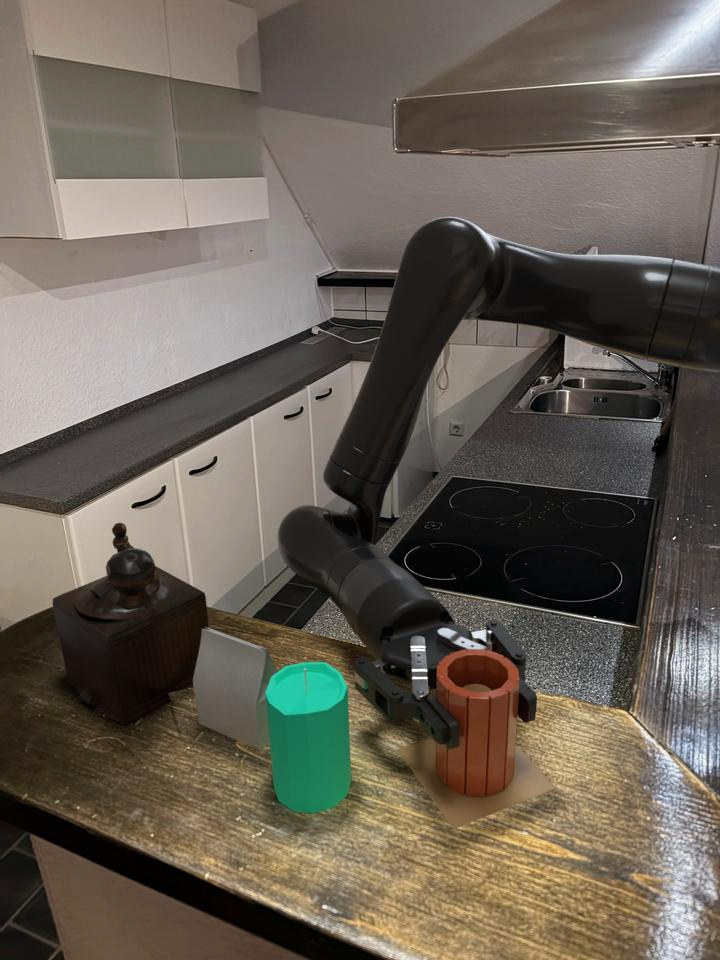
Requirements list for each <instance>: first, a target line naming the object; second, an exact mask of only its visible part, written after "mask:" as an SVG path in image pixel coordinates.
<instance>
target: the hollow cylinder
mask: <svg viewBox="0 0 720 960" xmlns="http://www.w3.org/2000/svg"><path fill="white" fill-rule="evenodd" d="M519 682H520V680H519V672H518V669H517V667H516V666H515V665H514V664H513V663H512V662H511V661H510V660H509V659H508V658H506V657H505V658H504V656H503V655H500V654H498V653H495V652H492V651H489V650H487V651H486V650H485V649H467V651H466V650H461V651H457V652H454V653H451V654H449V655H447V656H446V657H445V658H444V659H443V660H442V661H440V662H439V663H438V666H437V688H436V695H435V696H436V697H437V699H438V701H439V702H440V703H441V705H442V706H443V707H444V708H445V709H446V710H448V712H449V713H450V714H451V715H452V716H453V717H454V719H455V720H456V721H457V722H458V725H459V728H460V742H459V747H456V748H453V749H450V750H449V749H448V748H447V747H446V746H445V744H442V745H440V744H438V743H437V742H436V772H437V775H438V776H439V778H440V779H441V780H442V782H443V783H444V784H445V785H447V787H448V788H449V789H452V790H454V791H456V792H458V793H460V794H462V795H464V794H465V793H466V796H477V797H485V794H486V795H487V796H490V795H493V794H495V793H498V792H500V791H503V789H506V787H507V786H508V785H509V783H510V782H511V780H512V779H513V776H514V765H515V748H516V745H517V733H518V732H517V731H518V730H517V728H518V698H519ZM470 684H480V685H484V686H486V687H488V688H490V689H491V690H492V691H489V692H473V691H468V690H466V689H463V687H464V686H466V685H470Z"/></svg>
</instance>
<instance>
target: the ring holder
mask: <svg viewBox="0 0 720 960" xmlns="http://www.w3.org/2000/svg"><path fill="white" fill-rule="evenodd" d="M463 689H466V690H468V691H473V692H489V691H492V690H491V689H490V688H488V687H486V686H484V685H480V684H470V685H466V686H464V687H463ZM397 752H398V753H399V754H400V756H401V757H402V759H403V760H404V761H405V763H406V764H407V766H408V767H409V769H410V770H411V772H412V773H413V774H414V775H415V777H416V778H417V780H418V782H419V783H420V784H421V785H422V787H423V789H424V790H425V791H426V793H427V794H428V796H429V797H430V799H431V800H432V801H433V802H434V804H435V806H436V807H437V808H438V809H439V811H440V812H441V814H442V815H443V817H444V818H445V820H446V821H447V823H448V824H449V826H450V827H451V828H452V830H455V829H458V828H461V827H463V826H466V825H469V824H470V823H474V822H475V821H478V820H480V819H483V818H486V817H488V816H492V815H493V814H496V813H498V812H501V811H504V810H506V809H509V808H511V807H514V806H516V805H518V804H521V803H523V802H526V801H529V800H531V799H534V798H536V797H539V796H541V795H544V794H546V793H549V792H551V791H554V790H556V789H557V787H556V786H555V785H554V783H552V782H551V780H550V779H549V778H548V777H547V776H546V775H545V774H544V773H543V772H542V771H541V770H540V768H538V766H537V765H536V764H535V763H534V762H533V761H532V760H531V758H529V756H528V755H526V753H525V752H524V751H523V750H522V749H521V748H520V747H519V746H518V744H516V748H515V765H514V776H513V779H512V780H511V782H510V783H509V785H508V786H507V787H506V789H503V791H500V792H498V793H495V794H493V795H490V796H487V795H486V794H485V797H477V796H466V793H465V794H464V795H462V794H460V793H458V792H456V791H454V790H452V789H449V788H448V787H447V785H445V784H444V783H443V782H442V780H441V779H440V778H439V776H438V775H437V772H436V742H435V741H434V740H433V738H432V737H431V736H430V737H429V738H427V739H426V738H425V739H423V740H419V741H416V742H414V743H411V744H408V745H405V746H402V747H400V748H397Z"/></svg>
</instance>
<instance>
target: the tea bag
mask: <svg viewBox="0 0 720 960" xmlns="http://www.w3.org/2000/svg"><path fill="white" fill-rule="evenodd" d="M270 653H271V652H270V650H269V648H265V647H263V646H260V645H257V644H254V643H251V642H249V641H246V640H244V639H240V638H239V637H236V636H232V635H230V634H227V633H224V632H221V631H218V630H215V629H213V628H210V627H209V628H207V627H205V629H202V635H201V643H200V649H199V654H198V658H197V663H196V668H195V672H194V677H193V692H194V701H195V708H196V716H197V723H198V724H199V725H201V726H204V727H206V728H208V729H211V730H212V731H214V732H217V733H218V734H222V735H224V736H226V737H228V738H231V739H233V740H235V741H238V742H239V743H242V744H244V745H247V746H249V747H251V748H253V749H256V750H258V751H262V750H263V749H264V748H265V747H266V746H267V745H268V744H270V741H269V730H268V720H267V709H266V698H265V693H266V690H267V687H268V684H269V681H270V679H271V677H272V676H273V675H274V674H276V673H277V672H279V670H278V668H277V666H276V665H275V663H274V660H273V659H272V655H271V654H270Z"/></svg>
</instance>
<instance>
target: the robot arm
mask: <svg viewBox="0 0 720 960" xmlns="http://www.w3.org/2000/svg"><path fill="white" fill-rule="evenodd" d="M470 320H472V321H483V322H495V323H505V324H514V325H521V326H522V325H523V326H529V327H535V328H538V329H539V328H540V329H544V330H548V331H551V332H555V333H558V334H560V335H563V336H565V337H569V338H570V339H571V338H572V339H574V340H576V341H579V342H583V343H585V344H587V345H591V346H592V347H596V348H600V349H601V350H602V349H603V350H606V351H608V352H611V353H616V354H620V355H623V356H625V357H630V358H633V359H637V360H643V361H647V362H652V363H656V364H660V365H665V366H670V367H676V368H680V369H685V370H692V371H698V372H707V373H708V372H709V373H720V267H719V266H715V265H709V264H705V263H698V262H693V261H686V260H681V259H674V258H667V257H659V256H649V255H647V256H646V255H634V254H569V253H568V254H567V253H559V252H553V251H549V250H543V249H540V248H536V247H532V246H529V245H524V244H521V243H516V242H513V241H509V240H507V239H504V238H502V237H501V238H500V237H497V236H495V235H492V234H490V233H487V232H486V231H484V230H483V229H481V228H480V227H479V226H478V225H476V224H474V223H473V222H471V221H469V220H466V219H464V218H460V217H455V216H444V217H443V216H442V217H438V218H435V219H433V220H429V221H428V222H427V223H425V224H423V225H422V226H420V227H419V228H418V229H417V230H416V231H414V233H413V234H412V236H411V237H410V238H409V240H408V242H407V243H406V246H405V248H404V250H403V253H402V257H401V259H400V263H399V266H398V270H397V274H396V277H395V280H394V284H393V288H392V292H391V295H390V300H389V304H388V306H387V310H386V315H385V318H384V321H383V325H382V327H381V331H380V334H379V337H378V339H377V344H376V346H375V349H374V351H373V354H372V356H371V360H370V362H369V365H368V367H367V370H366V373H365V376H364V378H363V380H362V383H361V385H360V388H359V391H358V393H357V395H356V397H355V400H354V402H353V404H352V407H351V409H350V411H349V414H348V415H347V418H346V420H345V422H344V424H343V426H342V428H341V431H340V433H339V435H338V437H337V439H336V442H335V444H334V446H333V448H332V450H331V453H330V455H329V457H328V459H327V462H326V463H325V467H324V469H323V473H322V480H323V482H324V484H325V487H327V489H328V490H330V491H331V492H332V493H333V494H335V495H336V496H337V497H340V498H341V499H343V500H345V501H346V502H347V503H348V506H347V508H346V510H345V511H344V512H342V511H337V510H333V509H330V508H325V507H321V506H317V505H311V504H303V505H299V506H296V507H294V508H293V509H291V510H289V511H288V512H287V513H286V515H284V517H283V518H282V519H281V522H280V524H279V526H278V529H277V547H278V550H279V554H280V557H281V558H282V560H283V562H284V564H285V565H286V566H287V567H288V569H290V570H291V571H292V572H293V573H294V574H296V575H297V576H298V577H299V578H301V579H303V580H304V581H306V582H307V583H308V584H310V585H311V586H313V587H314V588H316V589H318V590H320V591H321V592H323V593H325V594H326V595H328V596H329V598H330V600H331V601H332V602H333V603H334V605H336V607H337V608H338V609H339V611H340V612H341V613H342V614H343V616H344V618H345V620H346V622H347V624H348V626H349V627H350V628H351V630H352V632H353V633H354V634H355V635H356V636H357V638H358V639H359V640H360V642H362V644H363V645H364V646H365V647H366V649H367V650H368V651H369V652H370V654H371V655H372V656H373V658H374V659H375V660H372V661H371V660H369V659H368V658H366V657H358V658H355V660H354V662H353V665H354V667H353V669H354V687H355V690H356V691H357V692H358V693H359V694H360V695H361V696H362V697H363V698H365V700H366V701H367V702H368V703H370V705H371V706H373V708H375V709H376V710H377V712H379V714H381V716H382V717H384V718H385V720H387V721H388V723H390V724H392V725H399V724H402V723H403V722H404V720H405V719H412V720H413V721H415V722H416V723H420V724H421V726H422V727H423V728H424V729H425V731H426V732H427V733H428V735H429V736H430V738H431V737H432V738H433V740H434V741H435V742H437V743H438V744H440V745H442V744H445V746H446V747H447V748H448V749H449V750H450V749H453V748H456V747H459V742H460V728H459V725H458V722H457V721H456V720H455V719H454V717H453V716H452V715H451V714H450V713H449V712H448V710H446V709H445V708H444V707H443V706H442V705H441V703H440V702H439V701H438V699H437V697H436V695H435V694H432V695H430V694H429V693H430V691H433V690H437V666H438V663H439V662H440V661H442V660H443V659H444V658H445V657H446V656H447V655H449V654H451V653H454V652H457V651H461V650H466V651H467V649H485V650H486V651H487V650H489V651H492V652H495V653H498V654H500V655H503V656H504V658H505V657H506V658H508V659H509V660H510V661H511V662H512V663H513V664H514V665H515V666H516V667H517V669H518V672H519V680H520V682H519V698H518V715H517V717H518V718H519V719H520V720H521V721H522V722H523V723H525V724H527V723H531V722H534V721H535V720H536V718H537V717H536V714H537V705H538V695H537V693H536V691H534V689H533V688H531V686H529V685H528V683H527V682H526V663H527V657H528V656H527V653H526V651H524V649H522V647H521V646H520V645H519V644H518V642H517V641H516V640H515V639H514V638H513V636H512V635H511V634H510V633H509V632H508V630H507V629H506V628H505V627H504V626H503V624H502V623H501V622H500V621H498V620H495V619H490V620H487V621H486V625H485V626H486V627H485V629H481V630H475V631H471V630H469V629H468V628H466V627H464V626H461V625H459V624H457V623H456V622H455V621H454V619H453V617H452V615H451V614H450V612H449V611H448V609H447V607H445V605H444V604H443V603H442V602H441V601H439V600H438V599H437V598H436V596H434V595H433V594H432V593H431V592H430V591H429V590H428V589H427V588H426V587H425V586H424V585H423V584H421V582H420V581H418V580H417V579H416V578H415V577H414V576H413V574H411V573H410V572H409V571H407V570H406V569H404V568H403V567H402V566H399V564H397V563H396V562H395V561H394V560H393V559H391V558H390V557H389V556H388V555H387V554H386V553H385V552H384V551H383V550H382V549H381V548H379V547H378V546H376V544H377V543H376V542H377V535H378V529H379V524H380V520H381V519H380V518H381V516H382V515H381V514H382V510H383V505H384V500H385V496H386V492H387V490H388V489H389V486H390V484H391V482H392V480H393V478H394V476H395V473H396V471H397V470H398V467H399V466H400V463H401V461H402V459H403V457H404V455H405V453H406V450H407V448H408V446H409V443H410V441H411V438H412V436H413V433H414V430H415V427H416V424H417V420H418V418H419V413H420V409H421V406H422V402H423V399H424V395H425V392H426V389H427V386H428V383H429V381H430V378H431V376H432V373H433V371H434V369H435V366H436V364H437V362H438V361H439V358H440V356H441V354H442V352H443V350H444V349H445V347H446V345H447V344H448V342H449V341H450V339H451V338H452V336H453V334H454V333H455V331H456V330H457V328H458V327H459V326H460V324H461V322H462V321H470ZM390 678H391V679H390ZM392 679H394V680H397V681H400V682H402V683H406V684H409V685H410V692H404V690H402V688H400V687H399V686H398V685H397V684H396V683H395V682H394V681H392ZM429 690H430V691H429Z"/></svg>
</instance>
